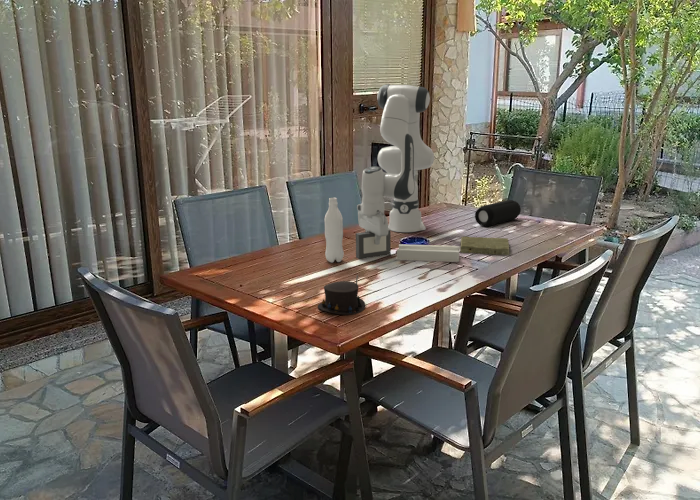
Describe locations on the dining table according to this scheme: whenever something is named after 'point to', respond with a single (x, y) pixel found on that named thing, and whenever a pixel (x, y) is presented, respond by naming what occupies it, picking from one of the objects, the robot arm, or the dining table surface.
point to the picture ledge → (428, 253)
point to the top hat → (342, 298)
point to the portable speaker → (497, 213)
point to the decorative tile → (484, 245)
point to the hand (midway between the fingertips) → (373, 242)
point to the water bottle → (333, 232)
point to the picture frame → (372, 245)
